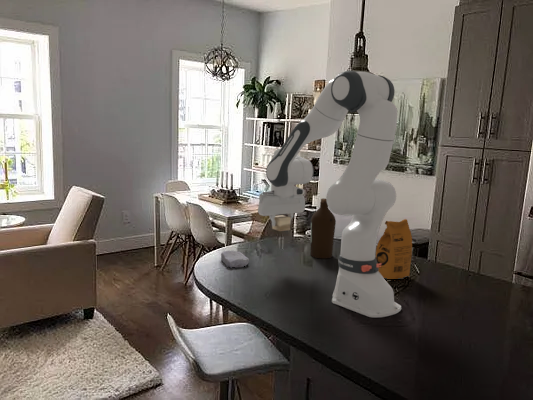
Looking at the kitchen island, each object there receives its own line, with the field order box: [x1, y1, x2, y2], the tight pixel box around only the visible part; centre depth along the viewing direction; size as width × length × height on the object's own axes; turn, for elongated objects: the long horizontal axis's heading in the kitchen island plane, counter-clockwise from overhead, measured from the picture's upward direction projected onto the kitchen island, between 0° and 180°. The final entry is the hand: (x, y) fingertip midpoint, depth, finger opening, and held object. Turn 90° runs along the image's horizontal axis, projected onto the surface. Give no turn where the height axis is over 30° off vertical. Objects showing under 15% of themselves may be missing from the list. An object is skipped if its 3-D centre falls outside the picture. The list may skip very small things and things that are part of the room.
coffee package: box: [375, 218, 413, 279], centre depth 164 cm, size 10×12×22 cm
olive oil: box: [309, 198, 337, 260], centre depth 188 cm, size 11×11×25 cm
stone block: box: [220, 250, 250, 269], centre depth 176 cm, size 12×5×10 cm
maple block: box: [271, 214, 291, 232], centre depth 171 cm, size 5×5×5 cm
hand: (281, 225), depth 171 cm, fingers closed on maple block, 5 cm apart
